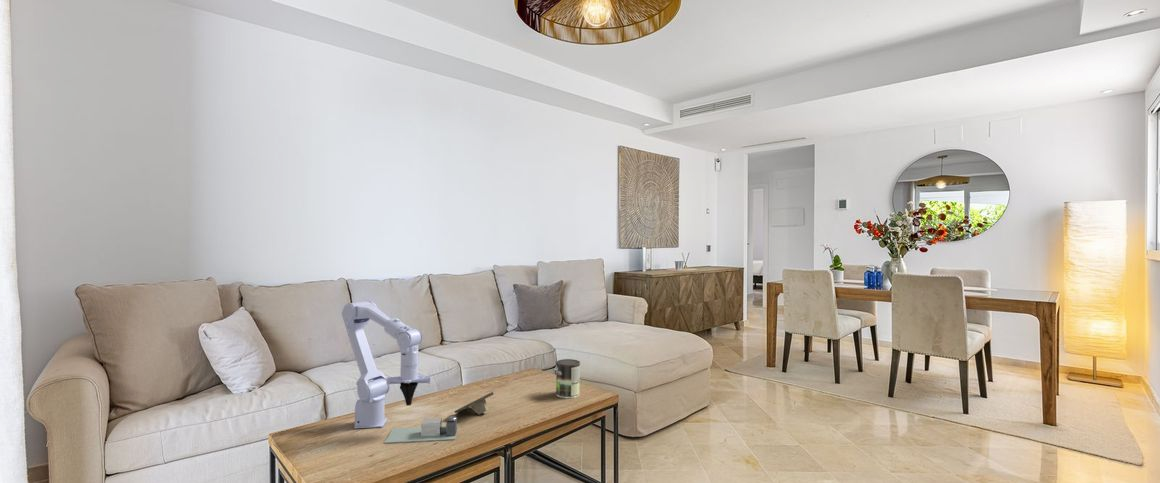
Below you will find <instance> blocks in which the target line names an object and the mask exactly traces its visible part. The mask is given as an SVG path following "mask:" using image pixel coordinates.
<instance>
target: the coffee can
mask: <svg viewBox="0 0 1160 483" xmlns="http://www.w3.org/2000/svg"><path fill="white" fill-rule="evenodd" d="M555 363H556V366H555V367H556V368H555V369H556V375H555V377H556V378H555V379H556V380H555V382H556V383H555V387H556V388H555V389H556V390H555V396H556V397H558V398H561V399H575V398H578V397H580V382H581V380H580V376H581V372H580V371H581V370H580V368H581V361H579V360H577V359H573V358H572V359H569V358H567V359H566V358H563V359H559V360H556V362H555Z"/></svg>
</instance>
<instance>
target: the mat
mask: <svg viewBox="0 0 1160 483" xmlns="http://www.w3.org/2000/svg"><path fill="white" fill-rule="evenodd" d="M442 427H446V425H442ZM458 428H459V424H457V430H458ZM457 432H458V431H457ZM457 432H456V435H455V436H446V434H440V437H421V426H413V427H412V426H411V427H410V426H408V427H393V428H392V429H391V431H390V433H389V434H388V436H387V437H386V440H384V444H385V445H388V444H403V443H405V444H406V443H423V442H424V443H425V442H441V441H442V442H443V441H444V442H445V441H455V440H456V437H457V434H458V433H457Z"/></svg>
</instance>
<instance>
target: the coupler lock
mask: <svg viewBox="0 0 1160 483" xmlns="http://www.w3.org/2000/svg"><path fill="white" fill-rule="evenodd" d="M442 423H443V419H442V417H426V418H425V417H424V418H423V419H422V421H421V425H420V427H421V437H440V427H442V426H443V424H442Z"/></svg>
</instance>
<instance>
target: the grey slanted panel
mask: <svg viewBox="0 0 1160 483" xmlns="http://www.w3.org/2000/svg"><path fill="white" fill-rule="evenodd" d="M494 394H495V393H494V391H491V392H489V393H486V394H485V395H484V396H481V397H479V398H477V399H475V400H473V401H471V402H469V403H467V404H465V405H463V406H461V407H459V408H458V409H456V410H453V411H452V413H455V414H458V413H460V412H462V411H464V410H465V409H468V408H469V407H470V408H471V409H472V410H473V411H474V412H475V413H476V414H477V415H478V416H479V415H481V414H482V413H485V412H487V411H489V410H490V409H489V406H488V404H487V401H486V399H488V398H490V397H492V396H494ZM448 415H450V413H448V414H447V416H448Z"/></svg>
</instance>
